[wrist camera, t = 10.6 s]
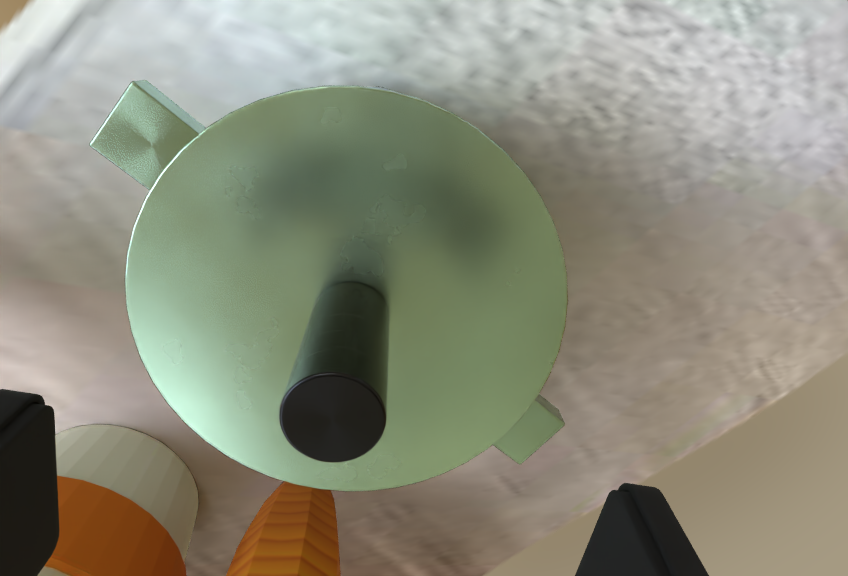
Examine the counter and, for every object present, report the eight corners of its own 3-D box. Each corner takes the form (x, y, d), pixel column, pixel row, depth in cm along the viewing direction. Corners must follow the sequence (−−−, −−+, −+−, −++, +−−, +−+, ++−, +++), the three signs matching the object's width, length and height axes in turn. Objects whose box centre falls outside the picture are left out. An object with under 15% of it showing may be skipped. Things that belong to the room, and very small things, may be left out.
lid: (315, -28, 15) (261, -82, 9) (644, 282, 19) (758, 388, 13) (58, 324, 19) (-105, 453, 13) (379, 529, 23) (372, 704, 17)
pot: (288, -33, 22) (229, -83, 14) (600, 256, 27) (682, 338, 19) (115, 209, 25) (-12, 277, 18) (422, 429, 30) (431, 560, 23)
